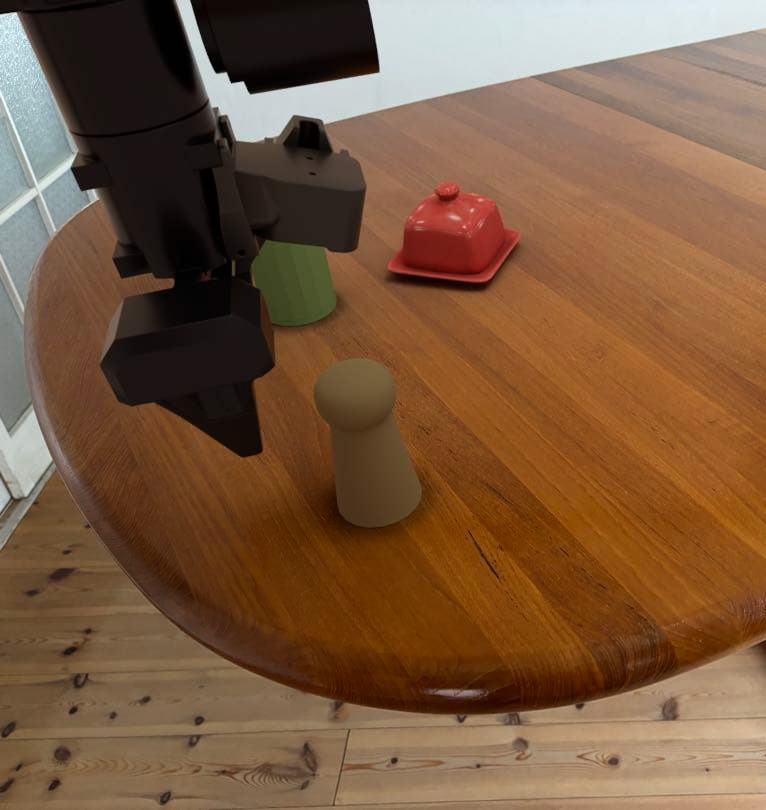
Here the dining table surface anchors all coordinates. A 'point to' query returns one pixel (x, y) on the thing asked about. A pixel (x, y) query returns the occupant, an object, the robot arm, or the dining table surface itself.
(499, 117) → the dining table surface
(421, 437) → the dining table surface
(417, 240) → the butter dish
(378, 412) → the tan peg doll
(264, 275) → the green cylindrical container
